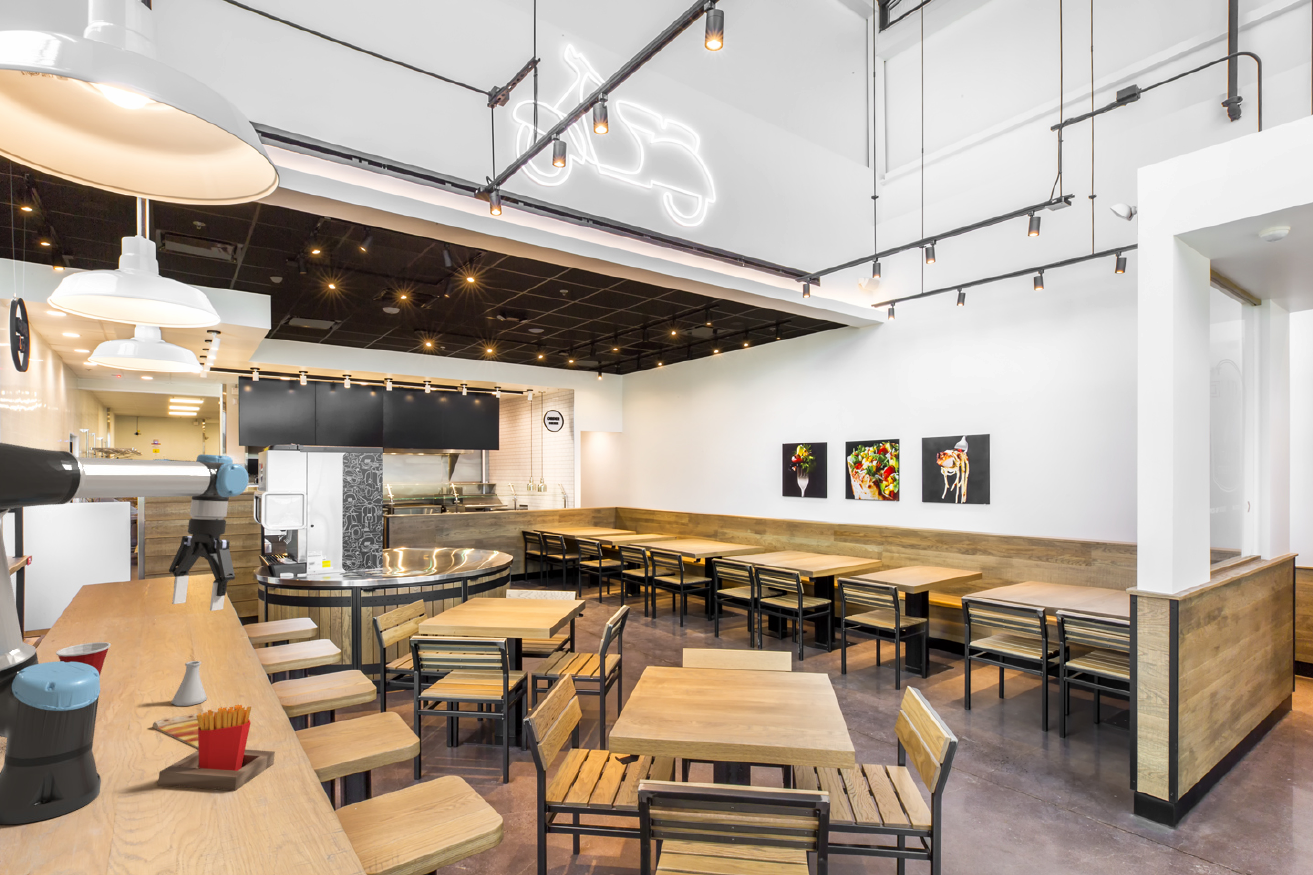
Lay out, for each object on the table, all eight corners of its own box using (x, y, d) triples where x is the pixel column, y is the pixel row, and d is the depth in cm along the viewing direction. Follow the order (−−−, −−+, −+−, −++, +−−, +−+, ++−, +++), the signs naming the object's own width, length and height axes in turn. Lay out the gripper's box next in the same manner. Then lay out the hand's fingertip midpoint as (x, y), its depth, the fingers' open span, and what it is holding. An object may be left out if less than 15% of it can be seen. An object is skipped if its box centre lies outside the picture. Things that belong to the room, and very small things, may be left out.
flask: (188, 708, 164) (192, 667, 165) (164, 704, 166) (168, 664, 166) (213, 699, 171) (217, 660, 172) (190, 696, 173) (194, 657, 173)
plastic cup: (50, 691, 170) (55, 644, 171) (104, 684, 178) (109, 639, 179) (51, 703, 162) (56, 654, 163) (107, 695, 170) (112, 648, 171)
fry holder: (235, 790, 124) (236, 776, 124) (158, 785, 125) (159, 771, 125) (273, 763, 136) (274, 751, 136) (203, 758, 137) (204, 746, 137)
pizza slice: (116, 757, 136) (117, 747, 136) (165, 719, 157) (166, 711, 158) (202, 753, 140) (203, 743, 140) (238, 716, 162) (239, 708, 162)
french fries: (243, 764, 135) (249, 700, 136) (246, 772, 132) (253, 706, 133) (189, 775, 129) (196, 708, 130) (191, 783, 126) (198, 714, 127)
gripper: (258, 521, 159) (247, 610, 157) (190, 514, 168) (179, 598, 166) (228, 521, 152) (216, 614, 150) (158, 514, 161) (147, 602, 159)
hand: (197, 606), depth 158 cm, fingers open, 13 cm apart
